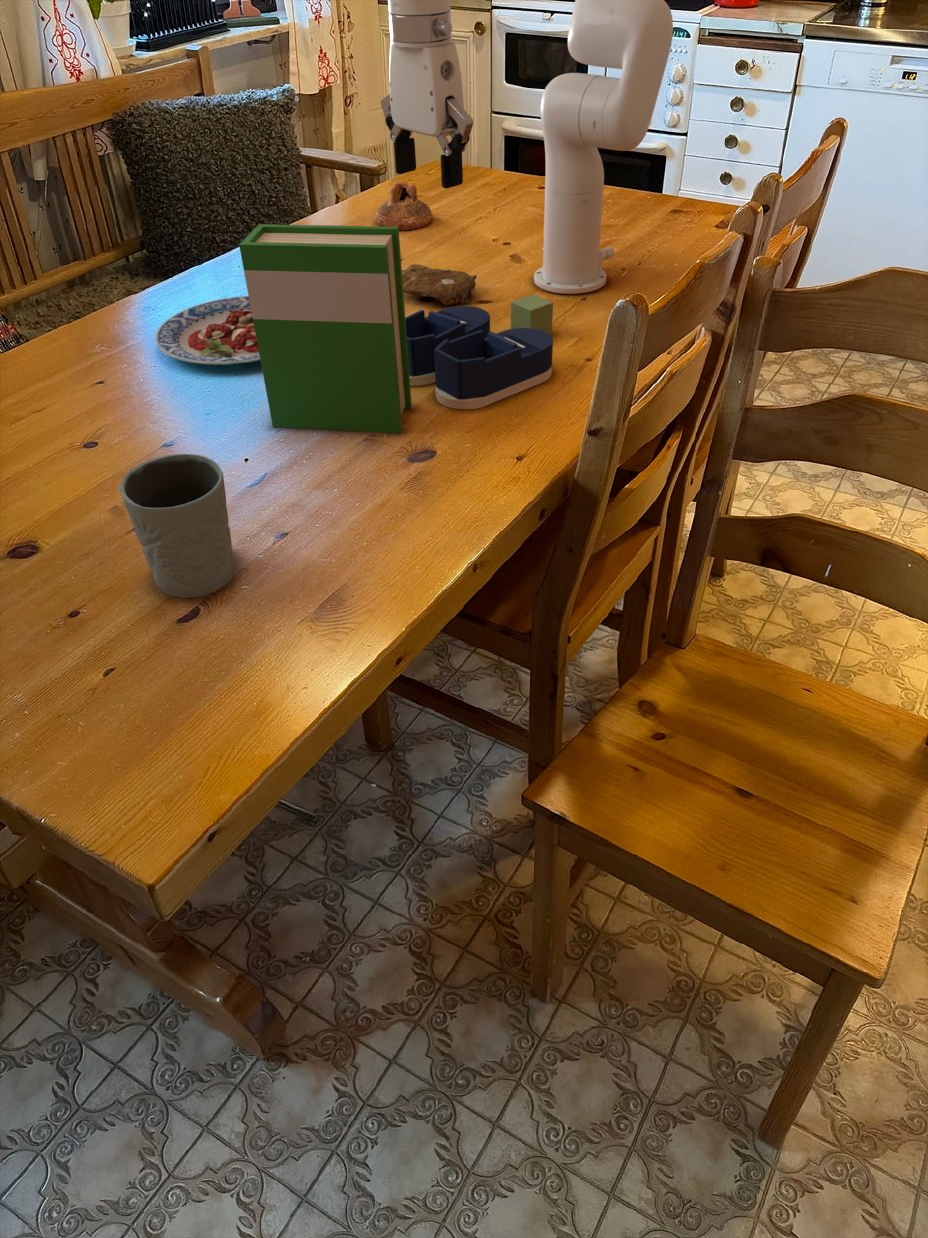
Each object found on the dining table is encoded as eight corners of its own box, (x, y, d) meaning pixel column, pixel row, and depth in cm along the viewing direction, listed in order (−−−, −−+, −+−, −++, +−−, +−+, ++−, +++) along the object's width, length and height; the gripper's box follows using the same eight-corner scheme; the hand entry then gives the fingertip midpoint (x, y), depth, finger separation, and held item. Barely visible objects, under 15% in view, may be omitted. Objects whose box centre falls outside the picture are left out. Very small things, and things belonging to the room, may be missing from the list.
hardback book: (411, 406, 126) (398, 226, 111) (401, 433, 121) (385, 247, 105) (288, 401, 129) (259, 223, 113) (272, 427, 123) (239, 244, 107)
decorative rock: (378, 303, 156) (460, 316, 152) (376, 279, 153) (459, 292, 149) (405, 276, 163) (483, 288, 159) (403, 253, 160) (483, 265, 156)
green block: (532, 326, 146) (533, 293, 142) (552, 334, 143) (553, 302, 140) (510, 334, 144) (510, 301, 140) (530, 343, 141) (530, 310, 137)
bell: (438, 213, 191) (437, 176, 186) (423, 232, 182) (421, 193, 177) (385, 211, 193) (382, 174, 188) (368, 229, 184) (364, 191, 179)
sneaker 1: (459, 332, 145) (457, 289, 140) (501, 346, 140) (501, 301, 136) (374, 375, 134) (370, 329, 130) (418, 391, 130) (414, 345, 125)
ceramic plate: (242, 297, 159) (239, 279, 157) (355, 328, 147) (353, 310, 145) (123, 351, 143) (118, 333, 141) (239, 391, 131) (235, 372, 129)
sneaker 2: (524, 354, 138) (525, 310, 133) (564, 373, 133) (566, 327, 128) (423, 393, 129) (420, 347, 125) (461, 415, 124) (460, 368, 119)
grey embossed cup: (180, 540, 104) (153, 447, 96) (261, 554, 101) (240, 459, 93) (131, 595, 96) (98, 499, 88) (216, 611, 94) (190, 513, 86)
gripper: (491, 31, 109) (492, 185, 120) (400, 18, 119) (410, 161, 130) (443, 40, 105) (449, 198, 116) (354, 26, 115) (368, 172, 126)
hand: (428, 178), depth 123 cm, fingers open, 9 cm apart
